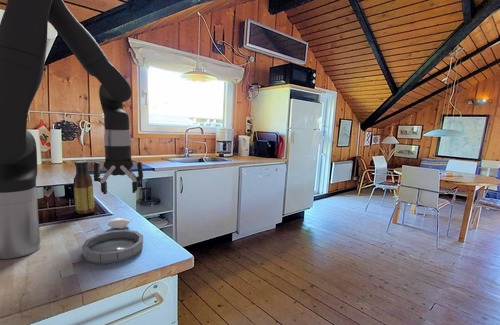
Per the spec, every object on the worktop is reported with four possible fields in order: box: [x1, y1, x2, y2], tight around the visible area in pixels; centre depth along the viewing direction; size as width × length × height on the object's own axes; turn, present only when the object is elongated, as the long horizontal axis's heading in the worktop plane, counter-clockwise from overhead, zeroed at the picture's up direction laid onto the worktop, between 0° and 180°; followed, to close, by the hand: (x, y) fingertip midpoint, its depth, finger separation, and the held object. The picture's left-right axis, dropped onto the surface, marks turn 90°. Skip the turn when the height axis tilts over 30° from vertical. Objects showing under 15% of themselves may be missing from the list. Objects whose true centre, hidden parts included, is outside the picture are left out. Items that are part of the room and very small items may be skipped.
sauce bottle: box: [73, 160, 96, 215], centre depth 99 cm, size 7×6×20 cm
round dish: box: [81, 229, 144, 265], centre depth 72 cm, size 15×15×3 cm
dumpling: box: [107, 217, 131, 230], centre depth 87 cm, size 7×5×4 cm
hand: (120, 193), depth 85 cm, fingers open, 8 cm apart
